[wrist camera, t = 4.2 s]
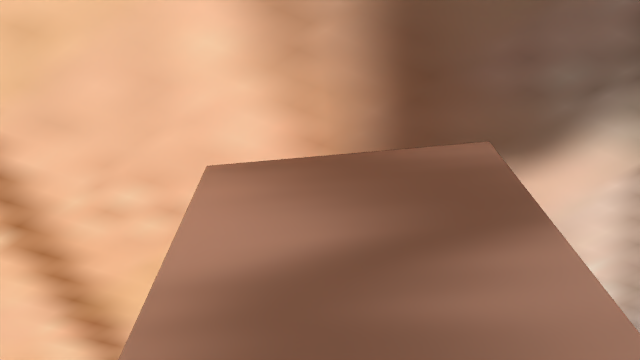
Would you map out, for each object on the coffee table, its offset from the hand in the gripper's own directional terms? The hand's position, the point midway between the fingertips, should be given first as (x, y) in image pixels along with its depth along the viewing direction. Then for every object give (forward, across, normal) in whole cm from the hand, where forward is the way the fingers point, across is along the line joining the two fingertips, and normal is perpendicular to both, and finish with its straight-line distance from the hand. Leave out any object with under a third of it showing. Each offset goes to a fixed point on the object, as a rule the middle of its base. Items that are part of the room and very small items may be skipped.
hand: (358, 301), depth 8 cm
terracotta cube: (+1, 0, 0) cm, 1 cm away
